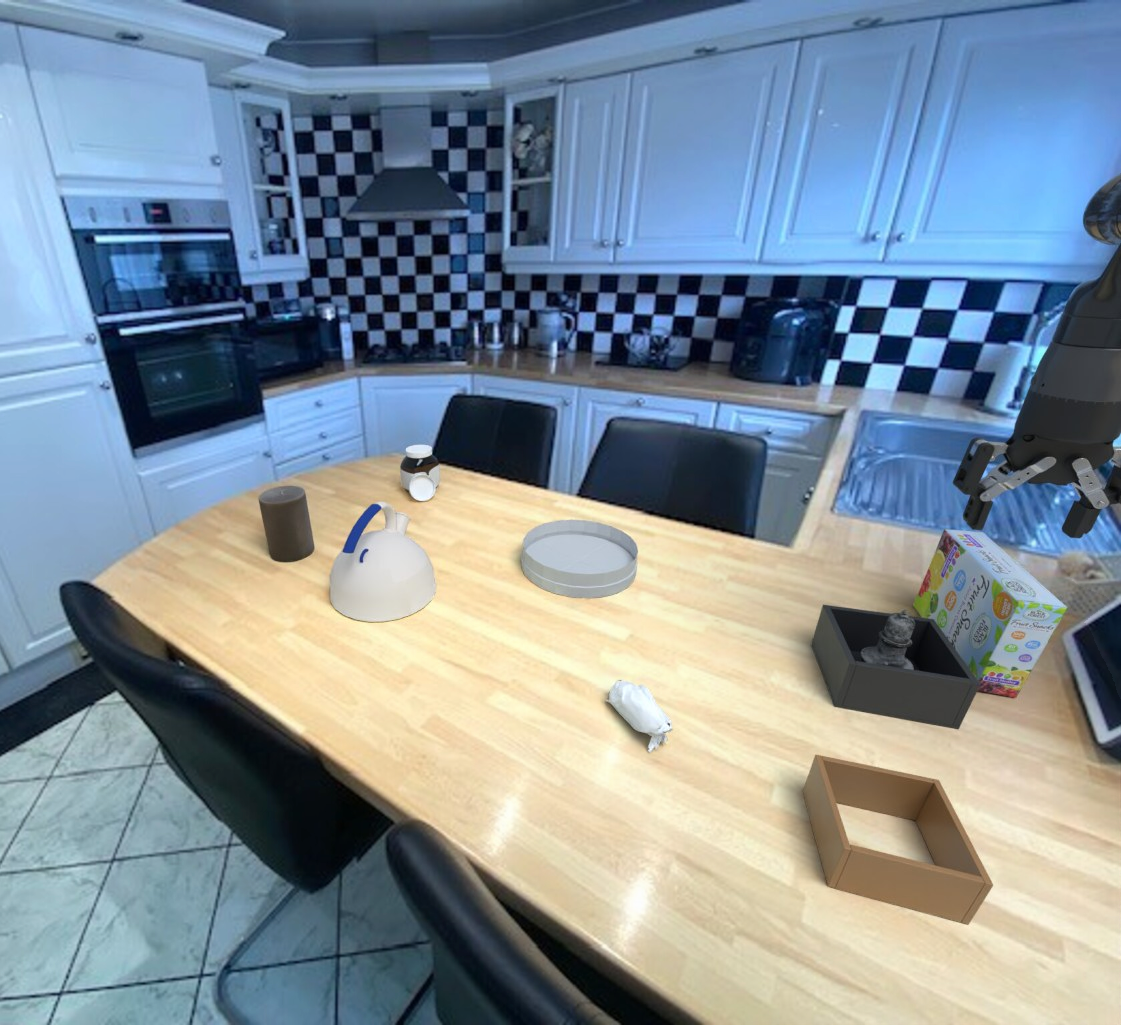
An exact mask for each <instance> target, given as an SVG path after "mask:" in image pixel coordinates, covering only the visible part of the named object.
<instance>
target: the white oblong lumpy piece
mask: <svg viewBox="0 0 1121 1025" xmlns="http://www.w3.org/2000/svg"><path fill="white" fill-rule="evenodd" d="M608 697H609V698H608V699H605V702H607V703H609V704H611V706H612V707H613V708H614V709H615V710H616V712H618V714H619V715H620V716H621V717H622V718H623V719H624V720H625V721H626V723H628V724H629V725H630V727H631V728H633V730H635V731H636V732H639V733H643V734H647V735H649V736H651V738H650V740H649V743H648V745H647V749H648V750H647V752H648V753H652V752H653V750H655V751H657V750H658V747H659V746H660V743H662V744H663V746H667V745H668V744H667V743H666V742H668V736H667V734H666V733H669V734H670V733H671V731H673V729H674V728H673V727H672V719H670V718H669V716H668V715H667V714H666V713H665V711H664V710H662V708H661V707H660V706H659V705H658V704H657V701H656V699H655V698H654V695H653V693H652V692H651V690H650V689H649V688H648V687H647V686H645V685H643V684H640V685H636V684H635V683H634V682H629V681H627V680H626V681H625V680H619V681H615V682H614V684H613V685H612V687H611V689H610V690H609V694H608ZM654 748H655V749H654Z"/></svg>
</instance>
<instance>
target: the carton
mask: <svg viewBox="0 0 1121 1025" xmlns="http://www.w3.org/2000/svg"><path fill="white" fill-rule="evenodd" d="M802 794H803V797H804V801H805V804H806V809H807V812H808V817H809V821H810V824H811V828H812V832H813V835H814V839H815V843H816V848H817V850H818V855H819V858H820V861H821V865H822V868H823V873H824V876H825V880H826V885H827V887H828V888H832V889H835V890H839V891H843V892H847V893H849V894H854V895H858V896H861V897H864V898H868V899H872V900H876V901H880V902H883V903H887V904H891V905H895V906H898V907H901V908H906V909H910V910H912V911H916V912H920V913H925V914H928V915H930V916H931V915H932V916H935V917H938V918H943V919H946V920H950V921H954V922H958V923H962V924H964V925H970V924H971V922H972V920H973V919H974V917H975V916H976V914H977V912H978V911H979V909H980V908H981V906H982V904H983V903H984V901H985V900H986V898H987V897H988V895H989V893H990V892H991V890H992V889H993V887H994V883H993V881H992V879H991V877H990V876H989V873H988V872H987V870H986V868H985V866H984V864H983V861H982V859H981V858H980V857H979V855H978V853H977V851H976V848H975V846H974V845H973V843H972V841H971V839H970V837H969V835H968V834H967V832H966V829H965V827H964V826H963V824H962V822H961V819H960V818H959V816H958V813H957V811H956V810H955V808H954V806H953V804H952V802H951V800H950V799H949V797H948V795H947V793H946V791H945V789H944V787H943V785H942V783H941V781H940V780H939V779H937V778H931V777H926V776H922V775H917V774H913V773H908V772H902V771H897V770H893V769H888V768H884V767H879V766H875V765H874V766H873V765H869V764H864V763H859V762H854V761H849V760H845V759H839V758H834V757H831V756H827V755H820V754H814V757H813V760H812V762H811V766H810V769H809V771H808V775H807V777H806V780H805V783H804V786H803V789H802ZM838 804H841V805H844V806H845V805H846V806H850V807H854V808H859V809H863V810H866V811H870V812H876V813H880V814H884V815H889V816H893V817H898V818H902V819H905V820H911V821H915V822H916V824H917V826H918V829H919V830H920V833H921V835H922V838H923V840H924V842H925V844H926V846H927V848H928V852H929V854H930V855H931V857H932V860H933V862H934V864H931V863H927V862H923V861H920V860H914V859H911V858H907V857H902V856H899V855H894V854H891V853H887V852H882V851H879V850H873V849H870V848H867V847H863V846H859V845H854V844H850V842H849V839H848V835H847V832H846V828H845V826H844V823H843V819H842V817H841V813H840V810H839V808H838Z"/></svg>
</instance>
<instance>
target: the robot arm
mask: <svg viewBox="0 0 1121 1025" xmlns="http://www.w3.org/2000/svg"><path fill="white" fill-rule="evenodd" d="M1082 225H1083V228H1084V230H1085V232H1086V233H1087V235H1088V236H1089V237H1091V238H1092V239H1093V240H1095V241H1096V242H1098V243H1101V244H1104V245H1108V246H1113V247H1116V250H1115V251H1114V252H1113V255H1112V256H1111V258H1110V259H1109V261H1108V263H1107V264H1106V266H1105V267H1104V269H1103V271H1102V272H1101V274H1100V275H1098V276H1097V277H1093V278H1091V279H1087V280H1084V281H1083V282H1081V283H1079V284H1078V285H1077V286H1076V287H1074V289H1073V290H1072V292H1071V293H1070V295H1069V297H1068V298H1067V301H1066V303H1065V304H1064V307H1063V309H1062V313H1061V314H1060V317H1059V320H1058V322H1057V324H1056V327H1055V329H1054V332H1053V335H1052V337H1051V340H1050V342H1049V344H1048V346H1047V348H1046V349H1045V351H1044V353H1043V355H1042V356H1041V358H1040V360H1039V362H1038V365H1037V367H1036V369H1035V372H1034V374H1033V376H1032V377H1031V379H1030V383H1029V384H1030V385H1029V387H1028V390H1027V393H1026V395H1025V397H1024V400H1023V403H1022V405H1021V407H1020V409H1019V412H1018V415H1017V418H1016V420H1015V423H1014V428H1013V432H1012V434H1011V436H1010V437H1009V438H1008V439H1007V440H1006V441H1005V442H1001V441H990V440H989V441H988V440H986V439H984V438H983V437H979V436H977V437H974V438H972V439H971V440H970V442H969V443H968V446H967V448H966V450H965V453H964V455H963V457H962V459H961V462H960V465H959V466H958V469H957V471H956V473H955V476H954V477H953V480H952V484H953V486H954V487H955V488H957V490H958V491H960V492H961V493H962V494H964V495H966V496H969V498H968V500H967V503H966V506H965V507H964V511H963V513H962V518H963V521H964V522H966V525H967V526H968V527H969V528H970V529H971V530H973V531H982V530H984V527H985V525H986V523H987V519H988V517H989V516H990V512H991V509H992V507H993V505H994V501H993V500H994V499H995V498H997V497H998V496H1000V495H1001V494H1003V493H1005V492H1006V491H1009V490H1015V489H1016V488H1018V487H1019V486H1021V485H1022V484H1024V483H1027V484H1029V485H1045V484H1051V485H1054V486H1062V487H1067V486H1068V485H1069V484H1070V485H1071V486H1072V488H1073V489H1074V491H1075V492H1076V494H1077V496H1078V497H1079V500H1076V499H1075V500H1073V502H1072V504H1071V507H1070V508H1069V511H1068V513H1067V516H1066V517H1065V518H1064V522H1063V523H1062V526H1061V532H1062V533H1063V534H1065V535H1066V536H1067V537H1068V538H1070V539H1082V538H1083V537H1084V535H1088V534H1089V533H1090V532H1091V531H1092V529H1093V528H1094V525H1095V523H1096V521H1097V520H1098V517H1099V516H1100V514H1101V511H1102V510H1103V509H1105V508H1107V507H1108V506H1111V505H1118V504H1119V505H1121V446H1114V442H1115V441H1116V440H1118V438H1120V436H1121V172H1120V173H1118V174H1116V175H1115V176H1113V177H1111V179H1109V180H1108V181H1107V182H1105V183H1104V184H1103V185H1102V186H1100V188H1099V189H1097V190H1096V191H1095V193H1094V194H1093V195H1092V196H1091V198H1090V199H1089V201H1088V202H1087V204H1086V205H1085V208H1084V211H1083V214H1082ZM1000 455H1003V457H1004V460H1003V461H1001V463H999V464H997V465H996V466H994V467H993V468H991V469H990V470H989V471H988V473H987V474H986V475H985V476H984V473H985V471H986V469H987V467H988V466H989V463H991V462H994V461H996V459H997V457H998V456H1000ZM1108 462H1110V463H1111V464H1112V465H1113V466H1112V469H1111V471H1110V474H1109V476H1108V478H1107V481H1106V484H1105V486H1104V487H1103V485H1102V483H1101V482H1100V480H1099V478H1098V476H1097V475H1096V473H1095V470H1097V469H1098V468H1100V467H1102V466H1103V465H1105V464H1107V463H1108ZM1011 472H1012V473H1011ZM1010 473H1011V474H1010ZM983 476H984V477H983Z"/></svg>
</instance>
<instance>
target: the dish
mask: <svg viewBox="0 0 1121 1025" xmlns="http://www.w3.org/2000/svg"><path fill="white" fill-rule="evenodd" d="M638 554H639V550H638V546H637V543H636V542H635V540H634V539H633V538H632V536H630V535H628V533H626V532H624V530H621V529H619V528H617V527H614V526H612V525H609V524H606V523H602V522H599V521H593V520H587V519H560V520H554V521H553V520H552V521H549V522H545V523H541V524H539V525H536V526H534V527H533V528H531V529H530V530H529V531H527V533H526V534H525V536H524V537H523V541H522V550H521V567H520V568H521V569H522V572H523V575H524V576H525V577H526V578H527V579H528V580H529V581H530V583H532V584H534V585H535V586H537V587H539V588H540V589H542V590H544V591H546V592H550V593H551V594H555V595H559V596H564V597H569V598H578V599H594V598H596V599H597V598H604V597H608V596H612V595H617V594H619V593H621V592H623V591H624V590H626V589H628V588H629V587H630V586H631V585H632V584H633V583H634V582H635V579H636V576H637V571H638V565H639V564H638Z"/></svg>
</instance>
